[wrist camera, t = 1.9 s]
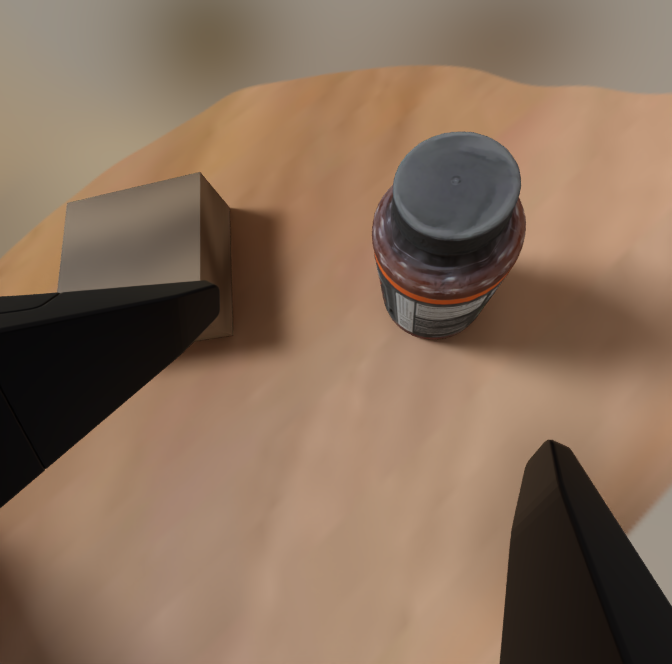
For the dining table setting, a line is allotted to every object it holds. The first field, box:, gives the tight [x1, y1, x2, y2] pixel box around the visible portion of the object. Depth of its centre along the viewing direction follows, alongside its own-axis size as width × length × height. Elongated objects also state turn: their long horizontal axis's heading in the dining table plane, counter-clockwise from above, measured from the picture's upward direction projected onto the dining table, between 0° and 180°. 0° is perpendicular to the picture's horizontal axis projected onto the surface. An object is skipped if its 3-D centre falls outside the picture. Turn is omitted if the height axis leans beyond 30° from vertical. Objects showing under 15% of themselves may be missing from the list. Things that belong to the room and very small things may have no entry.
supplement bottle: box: [372, 132, 526, 339], centre depth 17 cm, size 6×6×11 cm
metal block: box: [57, 172, 233, 341], centre depth 24 cm, size 10×10×4 cm
